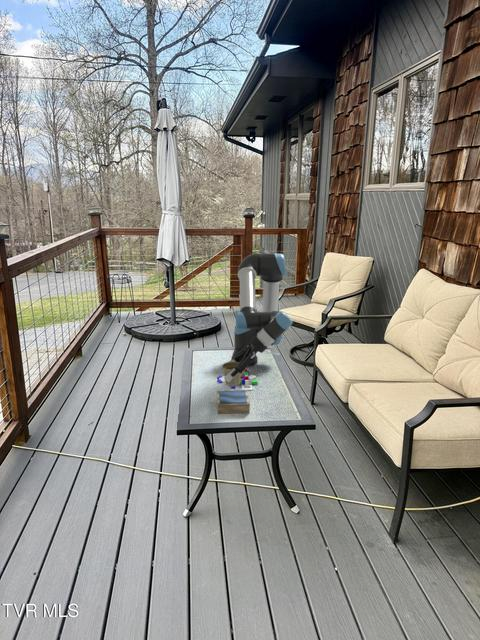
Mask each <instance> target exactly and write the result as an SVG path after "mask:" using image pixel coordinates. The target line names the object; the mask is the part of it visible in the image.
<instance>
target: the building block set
mask: <svg viewBox="0 0 480 640" xmlns="http://www.w3.org/2000/svg"><path fill="white" fill-rule="evenodd" d="M224 377H225V376H224V375H219V376H217V381H216V382H217V383H218V384H223V383H226V382H225V379H224ZM256 378H257V376H256V375H253V374H251V375H250V370H248V369H247V368H246V369H245V370H244V371H243V372H242V373H241V377H240V384H239V385H241V390H247V392H249V391H250V392H252V391H253V385H254V386H258V381H259V380H257V379H256ZM230 387H231V388H230V390H231V389H234V390H235V389H236V388H237V386H230Z"/></svg>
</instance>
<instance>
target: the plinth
mask: <svg viewBox="0 0 480 640" xmlns="http://www.w3.org/2000/svg"><path fill="white" fill-rule="evenodd" d="M248 392H249V391H247V390H242V389H241V390H235V389H234V390H217V391H216V399H217V400H216V402H217V405H216V406H217V407H216V408H217V415H247V414H250V411H251V410H250V407H251V406H250V398H249V394H248Z"/></svg>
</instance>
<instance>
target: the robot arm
mask: <svg viewBox="0 0 480 640" xmlns="http://www.w3.org/2000/svg"><path fill="white" fill-rule="evenodd" d="M286 267H287V266H286V258H285V256H284V254H282V253H275V252H274V253H272V252H271V253H268V252H267V253H261V252H260V253H258V252H255V253H250V254H249V255H247V256H246V257H244V258H243V259H242V260H241V262H240V264H239V265H238V268H237V277H238V279H239V311H237V312H236V313H235V325H234V330H233V331H234V332H233V334H234V342H233V343H234V348H233V352H232V356H231V361H230V362H238V363H239V364H238V366H237V367H234V369H233V370H232V371H231V372H230V373H229V374H228V375H226V376H225V377H224V379H225V380H226V381H227V382H228V383H229V382H230V381H231V380H232V379H233V378H234V377H235V376H236V375H237V374H238V373H242V372H243V371H244V370H245V369H247V367H253V366H255V365H257V364H258V361H259V360H258V359H259V358H258V356H257V353H258V352H259V353H260V354H263V353H264V352H265V351H266V350H267V349H268V347H270V346H277V345H280V344H281V342H282V337H283V333H285V332H286V331H287V330H289V328H290V327H291V326H292V324H293V323H294V322H293V320H292V319H291V317H290V316H288V314H286V312H285V311H279V303H280V302H279V299H280V297H279V296H280V283H281V282H283V278H284V277H286V275H287V269H286ZM257 277H260V280H261V281H262V282H263V285H262V309H261V311H257V305H256V304H257V302H256V300H257V299H256V298H257V297H256V278H257Z"/></svg>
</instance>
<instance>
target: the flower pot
mask: <svg viewBox="0 0 480 640" xmlns="http://www.w3.org/2000/svg"><path fill="white" fill-rule="evenodd" d="M238 364H239V363H238V362H231V361H228V362H225V363H222V364H221V368H222V371H223V376H226V375H228V374H229V373H230V372H231V371H232V370H233V369H234V367H237V366H238ZM240 377H241V373H238V374H237V375H236V376H235V377H234V378H233V379H232V380H231V381H230V382H229V383H228V382H227V381H226V380H225V382H224V383H225V385H226V386H229V387H231V386H236V387H238V386H239V385H241V384H240V380H241V379H240Z"/></svg>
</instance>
